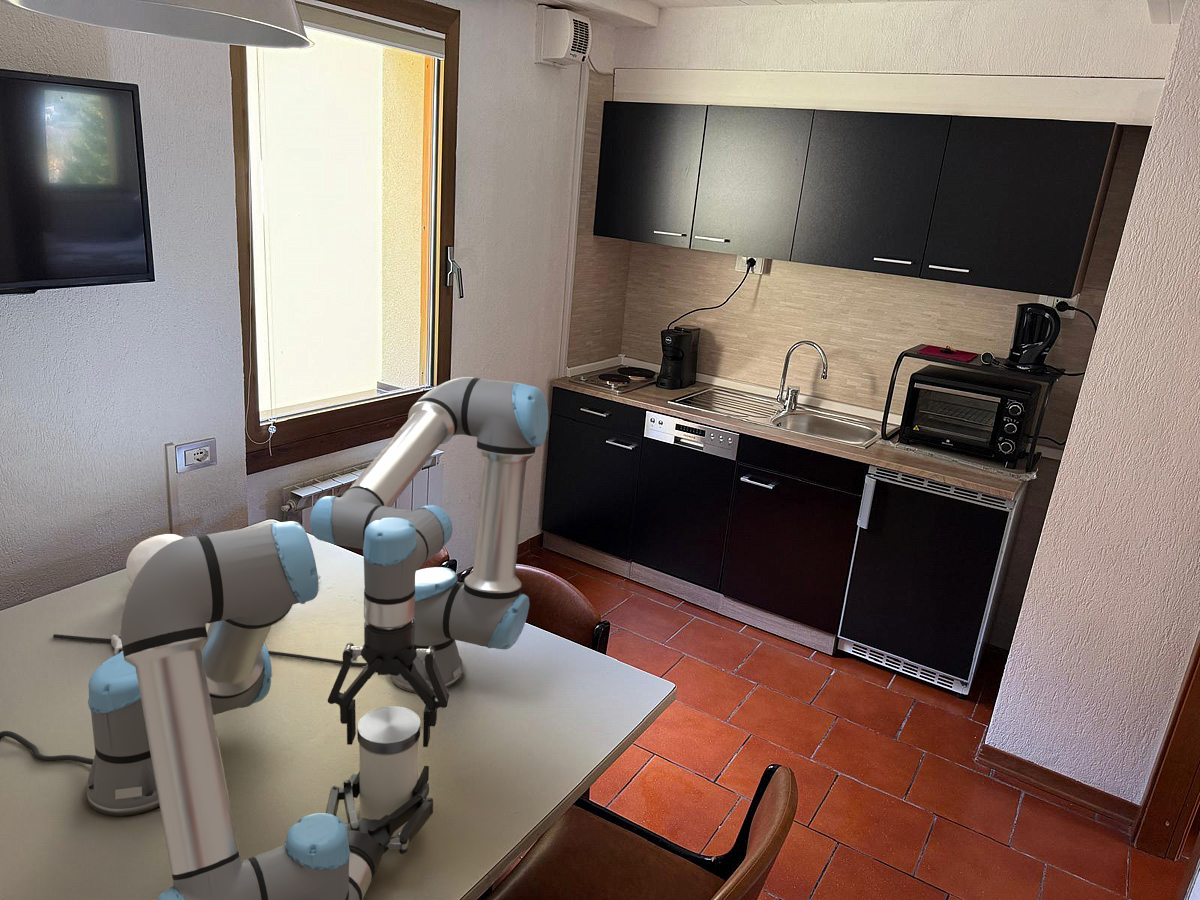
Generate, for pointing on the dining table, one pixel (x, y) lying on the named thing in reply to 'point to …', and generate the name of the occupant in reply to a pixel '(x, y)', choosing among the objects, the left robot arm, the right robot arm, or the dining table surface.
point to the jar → (386, 781)
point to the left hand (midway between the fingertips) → (397, 768)
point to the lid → (388, 730)
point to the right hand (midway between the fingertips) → (389, 740)
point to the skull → (146, 553)
